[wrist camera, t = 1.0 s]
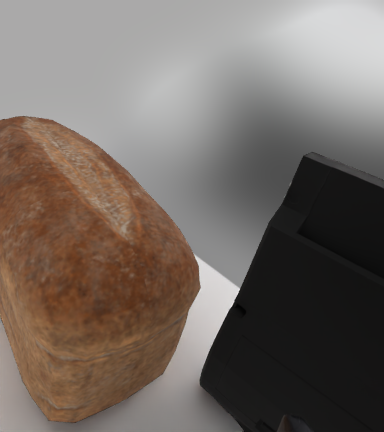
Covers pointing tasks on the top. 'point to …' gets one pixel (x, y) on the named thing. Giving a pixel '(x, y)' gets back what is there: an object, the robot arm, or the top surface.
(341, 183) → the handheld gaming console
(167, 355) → the bread
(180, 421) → the top surface
